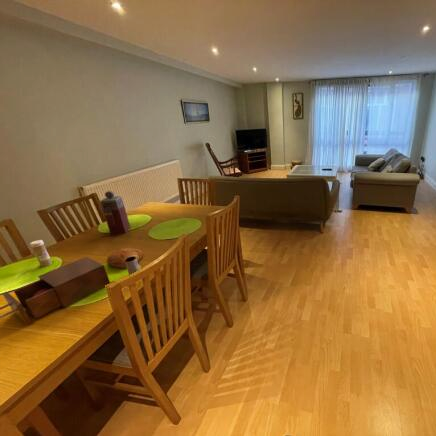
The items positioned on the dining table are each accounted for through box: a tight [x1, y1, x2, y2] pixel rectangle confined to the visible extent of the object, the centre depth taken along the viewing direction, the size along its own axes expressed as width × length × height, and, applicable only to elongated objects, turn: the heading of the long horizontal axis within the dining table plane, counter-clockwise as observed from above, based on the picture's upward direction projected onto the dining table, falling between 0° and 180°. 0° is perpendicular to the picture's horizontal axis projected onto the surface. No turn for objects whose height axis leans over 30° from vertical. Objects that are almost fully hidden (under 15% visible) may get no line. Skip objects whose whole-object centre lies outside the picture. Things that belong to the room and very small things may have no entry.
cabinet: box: [37, 256, 111, 309], centre depth 102 cm, size 17×15×11 cm
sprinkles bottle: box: [29, 239, 53, 268], centre depth 121 cm, size 5×5×13 cm
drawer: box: [0, 279, 62, 326], centre depth 91 cm, size 21×14×9 cm, turn 152°
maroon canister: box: [99, 190, 131, 235], centre depth 154 cm, size 9×11×28 cm
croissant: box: [106, 247, 143, 269], centre depth 125 cm, size 14×16×8 cm
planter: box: [125, 257, 141, 276], centre depth 111 cm, size 4×4×10 cm
